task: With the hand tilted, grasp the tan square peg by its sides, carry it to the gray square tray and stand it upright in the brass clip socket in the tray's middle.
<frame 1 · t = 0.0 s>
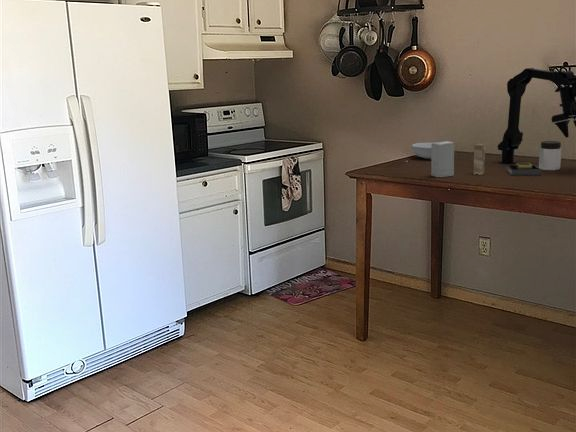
hand: (574, 136, 274), 15 cm above the table, tool pointing down, fingers open, 9 cm apart
jar: (549, 169, 287), on the table
gray square tray: (523, 173, 279), on the table
tan square peg: (478, 173, 281), on the table
skincare box: (442, 176, 280), on the table
serving bowl: (432, 158, 328), on the table
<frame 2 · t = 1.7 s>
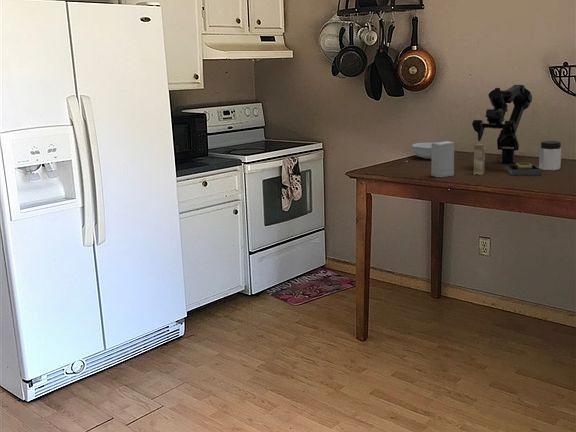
hand: (488, 141, 283), 13 cm above the table, tool tilted 45°, fingers open, 9 cm apart
nothing on the table moved.
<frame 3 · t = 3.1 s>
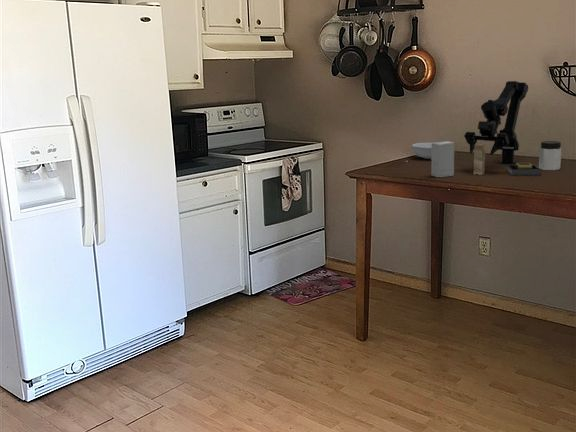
hand: (480, 153, 280), 9 cm above the table, tool tilted 45°, fingers open, 9 cm apart
nothing on the table moved.
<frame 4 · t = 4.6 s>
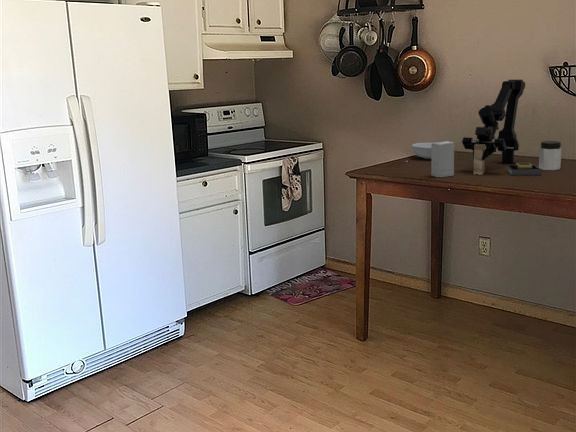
hand: (478, 159, 279), 7 cm above the table, tool tilted 45°, fingers closed on tan square peg, 3 cm apart
tan square peg: (478, 173, 281), on the table, touching gripper
everything else where it was.
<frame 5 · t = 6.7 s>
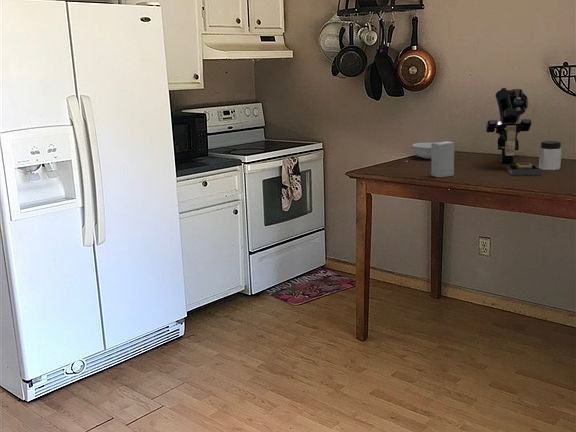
hand: (511, 140, 282), 13 cm above the table, tool tilted 45°, fingers closed on tan square peg, 3 cm apart
tan square peg: (509, 154, 285), point 7 cm above the table, touching gripper
everything else where it was.
when the fingers open (8 cm above the table, at t = 9.0 s): tan square peg stays where it is, resting on gray square tray.
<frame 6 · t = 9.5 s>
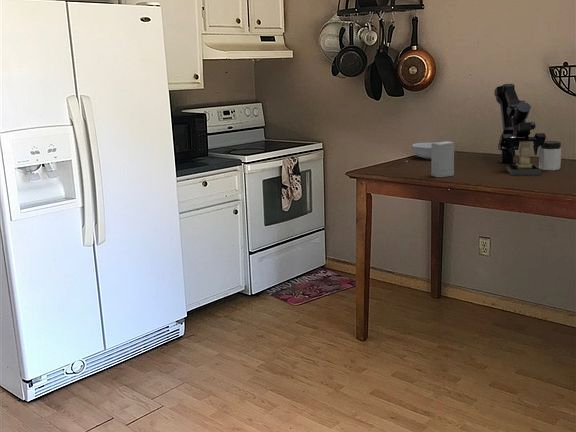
hand: (525, 155, 276), 8 cm above the table, tool tilted 45°, fingers open, 9 cm apart
tan square peg: (523, 171, 279), resting on gray square tray
everything else where it was.
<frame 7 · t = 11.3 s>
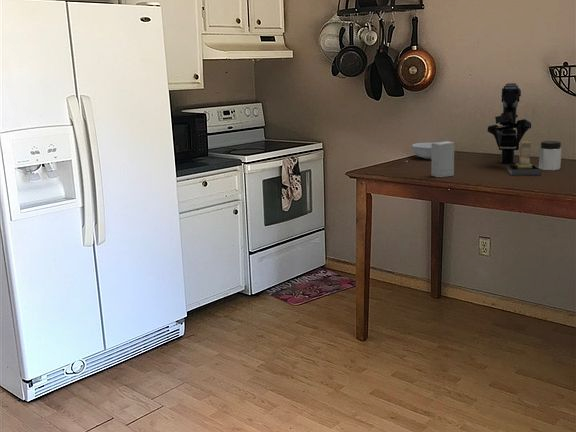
hand: (508, 145, 286), 11 cm above the table, tool tilted 25°, fingers open, 9 cm apart
nothing on the table moved.
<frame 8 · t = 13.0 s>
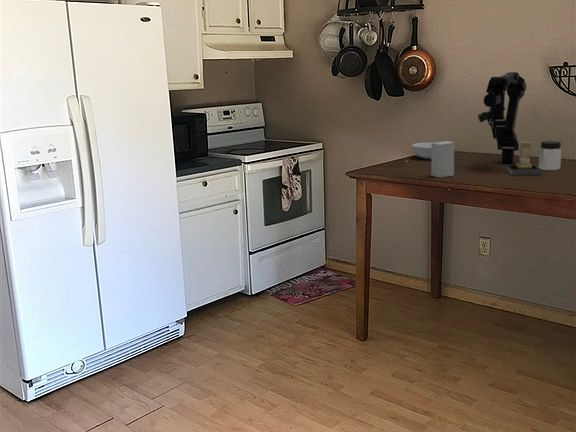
hand: (496, 139, 290), 13 cm above the table, tool pointing down, fingers open, 9 cm apart
nothing on the table moved.
at the end: tan square peg 0.1 cm off-centre on the gray square tray, point 0.5 cm above the gray square tray's base; tan square peg tilted 0°; the gripper is holding nothing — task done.
